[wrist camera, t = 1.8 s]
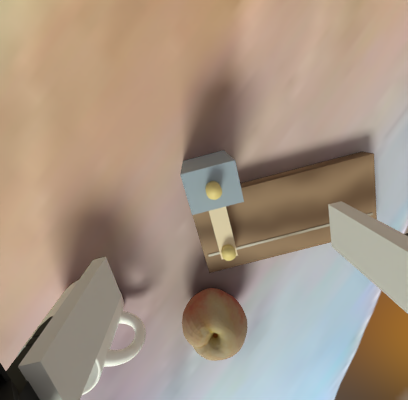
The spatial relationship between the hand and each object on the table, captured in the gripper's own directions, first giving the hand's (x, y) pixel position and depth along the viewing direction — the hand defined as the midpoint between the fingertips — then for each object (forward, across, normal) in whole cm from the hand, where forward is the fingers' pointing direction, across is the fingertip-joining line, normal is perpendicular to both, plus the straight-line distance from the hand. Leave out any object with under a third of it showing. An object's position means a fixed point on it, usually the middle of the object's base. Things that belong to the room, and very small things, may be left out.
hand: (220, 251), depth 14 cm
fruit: (+17, -3, -17) cm, 25 cm away
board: (+17, +9, -6) cm, 20 cm away
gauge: (+17, +1, -3) cm, 17 cm away
